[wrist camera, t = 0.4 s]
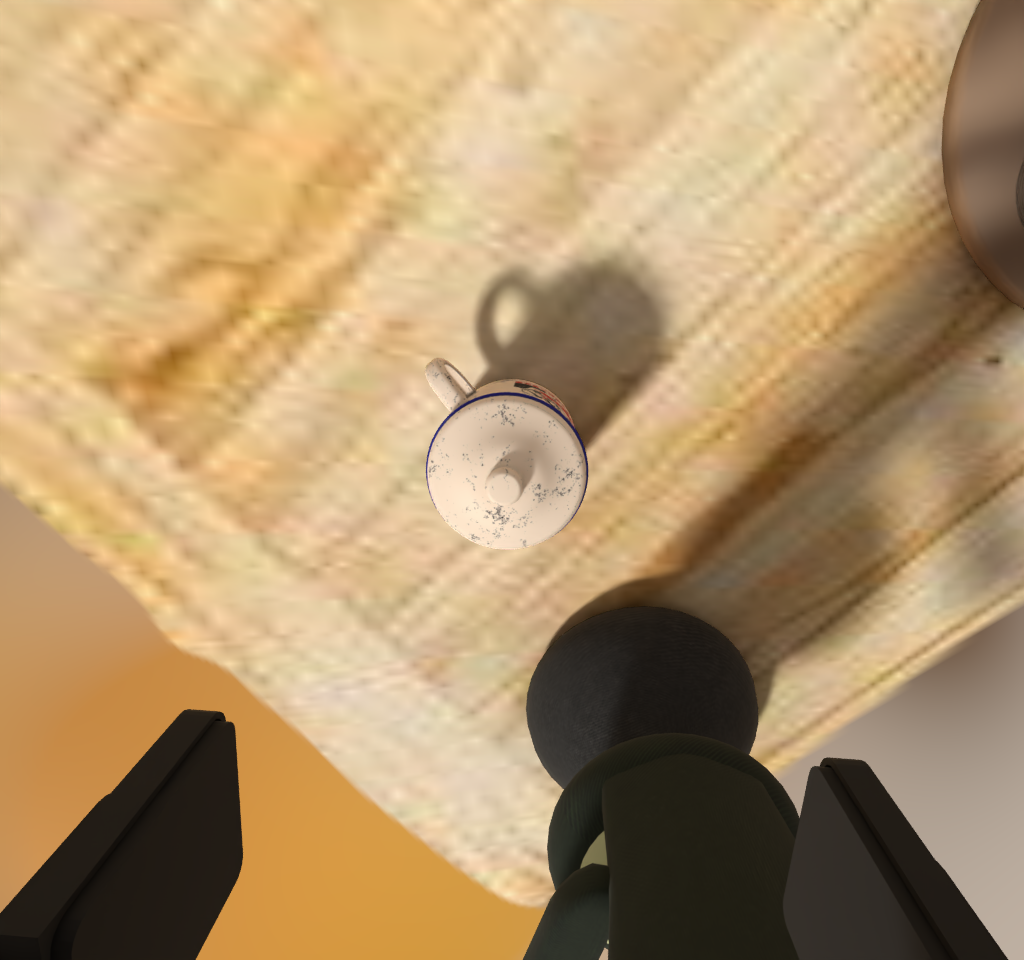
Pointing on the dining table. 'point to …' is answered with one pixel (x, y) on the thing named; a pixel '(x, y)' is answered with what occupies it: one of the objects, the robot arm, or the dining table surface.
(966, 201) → the turntable
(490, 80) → the dining table surface
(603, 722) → the toy pedestal armchair
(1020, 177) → the cap
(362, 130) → the dining table surface
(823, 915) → the robot arm
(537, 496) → the teacup with lid
